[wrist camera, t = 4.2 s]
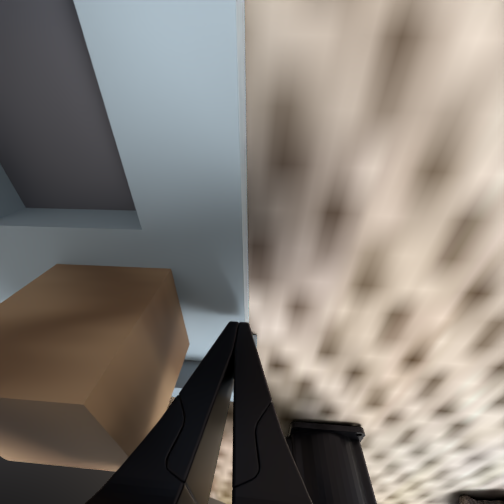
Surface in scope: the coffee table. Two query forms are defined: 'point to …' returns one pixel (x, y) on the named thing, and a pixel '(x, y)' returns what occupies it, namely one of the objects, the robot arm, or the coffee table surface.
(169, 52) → the trap box
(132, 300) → the block
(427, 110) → the coffee table surface
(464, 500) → the stone
